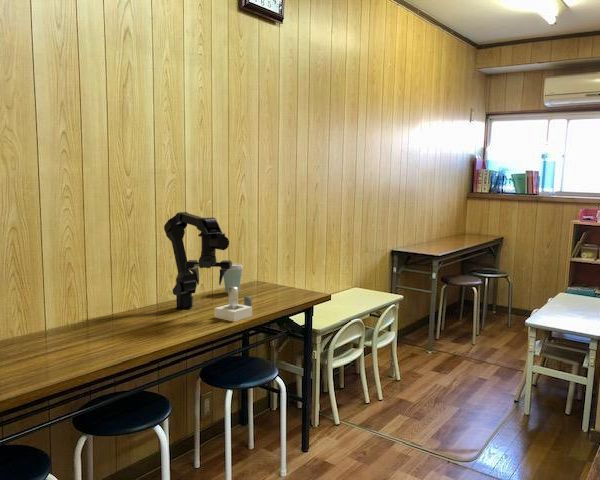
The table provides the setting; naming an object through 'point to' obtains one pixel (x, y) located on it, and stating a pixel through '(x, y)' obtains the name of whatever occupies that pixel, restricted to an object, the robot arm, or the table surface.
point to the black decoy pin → (248, 301)
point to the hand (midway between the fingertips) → (209, 284)
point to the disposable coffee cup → (233, 276)
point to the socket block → (233, 312)
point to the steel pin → (233, 297)
